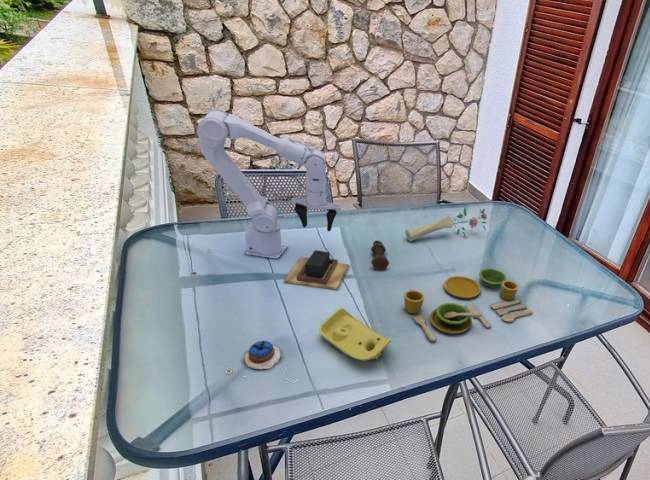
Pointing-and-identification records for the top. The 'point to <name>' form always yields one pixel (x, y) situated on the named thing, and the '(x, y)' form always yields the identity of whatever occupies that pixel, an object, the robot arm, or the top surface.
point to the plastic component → (352, 336)
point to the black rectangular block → (317, 264)
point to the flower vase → (441, 226)
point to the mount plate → (328, 280)
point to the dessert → (262, 355)
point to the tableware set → (456, 315)
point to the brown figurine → (379, 256)
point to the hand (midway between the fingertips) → (317, 228)
